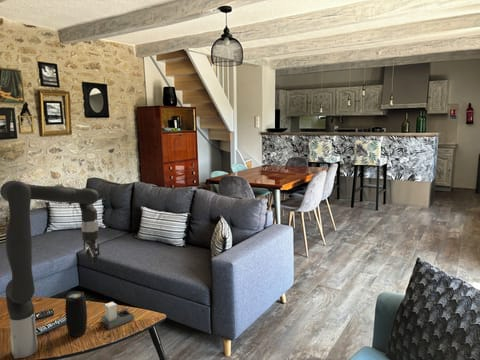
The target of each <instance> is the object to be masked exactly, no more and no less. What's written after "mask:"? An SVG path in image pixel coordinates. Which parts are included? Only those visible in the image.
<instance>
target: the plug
mask: <svg viewBox="0 0 480 360" xmlns="http://www.w3.org/2000/svg"><path fill="white" fill-rule="evenodd" d="M118 306H119V305H118V304H117V303H115V302H114V301H110V302H108V303H105V304H104V310H105V311H104V312H105V313H104V315H106V320H107V321H108V322H111V321H113V320H116V319H117V311H118V310H117V309H118Z"/></svg>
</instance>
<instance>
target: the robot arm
mask: <svg viewBox="0 0 480 360" xmlns="http://www.w3.org/2000/svg"><path fill="white" fill-rule="evenodd" d="M0 196H1V198H2V199H3V200H4V201H7V203H8V208H9V209H8V211H9V218H8V219H9V220H8V224H7V228H6V232H5V251H6V256H7V259H8V264H9V267H10V269H11V280H9V282H8V283H7V284H6V287H5V301H6V308H7V312H8V315H9V323H10V324H9V325H10V333H9V335H10V337H9V338H10V349H11V355H12V356H13V359H14V360H16V359H23V358H24V359H25V358H27V357H30V356H32V355H34V354H35V353H36V352H37V351H38V339H37V328H36V327H37V326H36V313H35V306H34V304H33V300H32V299H33V297H34V295H35V289H36V288H35V283H34V275H33V270H32V269H33V267H32V265H33V259H32V258H33V257H32V256H33V252H32V247H33V246H32V244H33V243H32V229H31V228H32V225H31V203H32V202H31V201H32V200H34V201H35V200H36V201H37V200H39V201H48V202H54V203H55V202H56V203H76V204H77V203H78V205H79V209H80V213H81V239H82V241H83V245H82V246H83V250H84V251H85V258H86V260H91V259H92V265H96V264H98V263H99V260H98V258H99V257H100V255H101V254H100V244H99V242H97V241H96V240H98V239H99V237H100V235H99V234H100V233H99V220H98V210H97V209H96V208H95V206H94V204H95V203H97V202H98V201H99V198H100V194H99V192H98V191H97V190H96V189H92V188H88V187H84V188H83V187H82V188H76V187H71V186H69V187H68V186H55V185H54V186H53V185H52V186H51V185H38V184H37V185H36V184H30V183H25V182H23V181H20V180H8V181H6V182H5V183H3V184H2V185H1V186H0Z"/></svg>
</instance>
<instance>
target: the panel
mask: <svg viewBox="0 0 480 360" xmlns="http://www.w3.org/2000/svg"><path fill="white" fill-rule="evenodd" d="M116 311H117V319H116V320H113V321H111V322H108V321H107V320H106V315H105V314H104V315H102V316H100V322H101V323H102V324H103V325H104V326H105V327H106V328H107V329H109V330H112V329H114V328H116V327H119V326H122V325H125V324H127V323H129V322H133V321H135V314H133V313H131V312H130V311H129V309H127V308H122V309H119V310H116Z"/></svg>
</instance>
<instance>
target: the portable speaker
mask: <svg viewBox="0 0 480 360" xmlns="http://www.w3.org/2000/svg"><path fill="white" fill-rule="evenodd" d="M64 309H65V310H64V311H65V324H66V330H67V333H68V336H73V337H75V338H79V337H82V336H83V335H84V334H85V332H86V331H87V328H88V327H87V326H88V324H87V323H88V313H87V301H86V297H85V293H84V291H76V290H73V291H71V292H68V293H67V295H66V297H65V308H64Z"/></svg>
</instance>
